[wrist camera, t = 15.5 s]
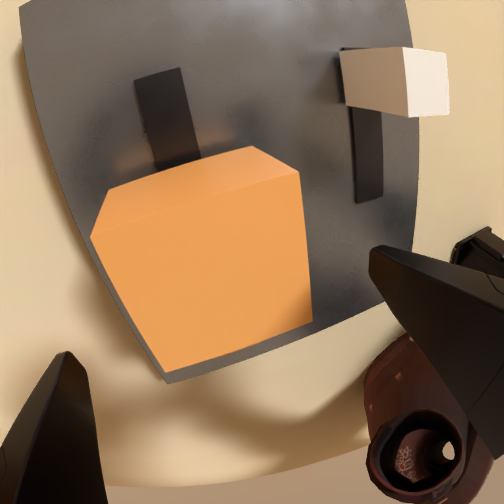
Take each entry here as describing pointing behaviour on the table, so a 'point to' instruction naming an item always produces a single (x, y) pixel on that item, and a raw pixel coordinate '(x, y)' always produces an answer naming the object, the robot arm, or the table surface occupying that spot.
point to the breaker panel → (230, 121)
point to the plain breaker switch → (396, 80)
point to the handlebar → (419, 432)
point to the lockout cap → (208, 254)
